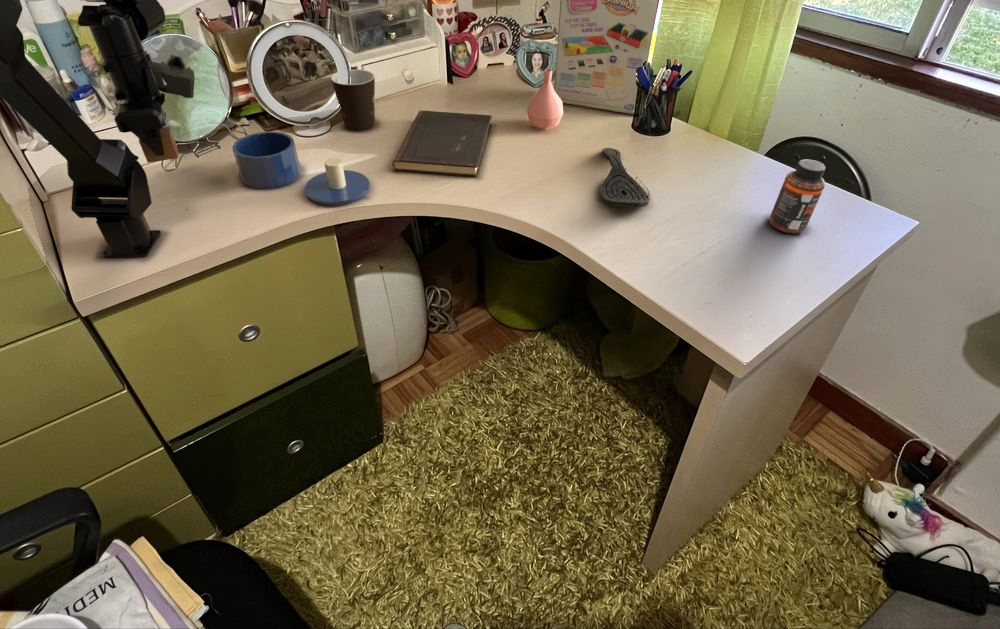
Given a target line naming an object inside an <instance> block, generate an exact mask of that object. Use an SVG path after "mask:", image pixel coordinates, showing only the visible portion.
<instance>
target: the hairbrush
mask: <svg viewBox="0 0 1000 629" xmlns="http://www.w3.org/2000/svg"><path fill="white" fill-rule="evenodd" d="M601 154H602V156H603V158H605V159H606V160H608V162H609V164H610V167H611V168H610V171H609V172H608V175H607V176H606V177H605V179H604V180H603V182H602V184H601V185H600V192H599V194H600V195H599V196H600V199H601V201H602V202H603V203H604V204H607V205H610V206H614V207H625V208H628V207H629V208H642V207H648V205H649V204H650V198H649V197H650V190H649V189H648V187H646V185H645V184H644V182H643V183H642V180H641V179H638V178H639V177H638V176H636V174H635V173H634V174H633V175H634V176H636V177H635V178H634V176H631V175H630V174H628V171H627V168H625V166H624V164H623V161H622V157H621V151H620V150H618V149H616V148H612V147H605V148H603V149H602V150H601ZM637 179H638V181H637ZM640 184H641V185H642V186H644V187H642V186H641V185H640Z"/></svg>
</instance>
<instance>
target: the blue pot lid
mask: <svg viewBox="0 0 1000 629" xmlns="http://www.w3.org/2000/svg"><path fill="white" fill-rule="evenodd" d="M324 168H325V172H321V173H319V174H317V175H314V176H312V177H311V178H310V179H309V180H308V181H307V182H306V184H304V191H305V192H304V193H305V195H306V196H307V197H308V198H309V199H310V200H311V201H313V202H316V203H319V204H324V205H342V204H348V203H352V202H354V201H357V200H359V199H361V198H363V197H364V196H365V195H366V194H367V193H368V192H369V190H370V189H371V182H370V180H369V177H367V176H366V175H364V174H363V173H361V172H359V171H354V170H348V169H345V168H344V164H343V160H342V159H341V158H339V157H331V158H328V159H326V160H325V161H324Z"/></svg>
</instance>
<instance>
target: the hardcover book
mask: <svg viewBox="0 0 1000 629" xmlns="http://www.w3.org/2000/svg"><path fill="white" fill-rule="evenodd" d="M492 118H493V115H491V114H481V113H479V114H478V113H466V112H465V113H463V112H452V111H451V112H448V111H438V110H437V111H434V110H421V109H420V110H419V111H418V113H417V114H416V116H415V118H414V120H413V122H412V124H411V125H410V128H409V129H408V132H407V134H406V136H405V137H404V139H403V141H402V143H401V145H400V147H399V149H398V151H397V153H396V155H395V157H394V159H393V160H392V169H393V170H394V171H396V172H400V173H401V172H402V173H403V172H404V173H413V174H414V173H415V174H429V175H443V176H452V177H453V176H455V177H468V178H478V176H479V172H480V169H481V165H482V162H483V159H484V154H485V150H486V147H487V143H488V140H489V136H490V132H491V129H492V126H493V125H492V123H491V120H492Z"/></svg>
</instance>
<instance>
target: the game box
mask: <svg viewBox="0 0 1000 629" xmlns="http://www.w3.org/2000/svg"><path fill="white" fill-rule="evenodd" d="M559 2H560V4H559V5H560V6H559V18H558V29H557V30H558V32H557V44H556V59H555V70H554V82H553V83H554V84H553V88H554V91H555V93H556V94H557V95H558V96H559V98H560V99H561V100H562V104H568V105H573V106H578V107H585V108H589V109H590V108H591V109H596V110H603V111H609V112H616V113H623V114H629V115H634V112H633V110H634V105H635V100H636V94H637V85H636V70H637V68H638V67H640V66H642V64H643V63H644V62H645V61H648V62H649V63H650V65H652V60H653V54H654V49H655V44H656V39H657V33H658V29H659V28H658V27H659V24H660V17H661V11H662V6H663V0H560V1H559Z"/></svg>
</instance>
